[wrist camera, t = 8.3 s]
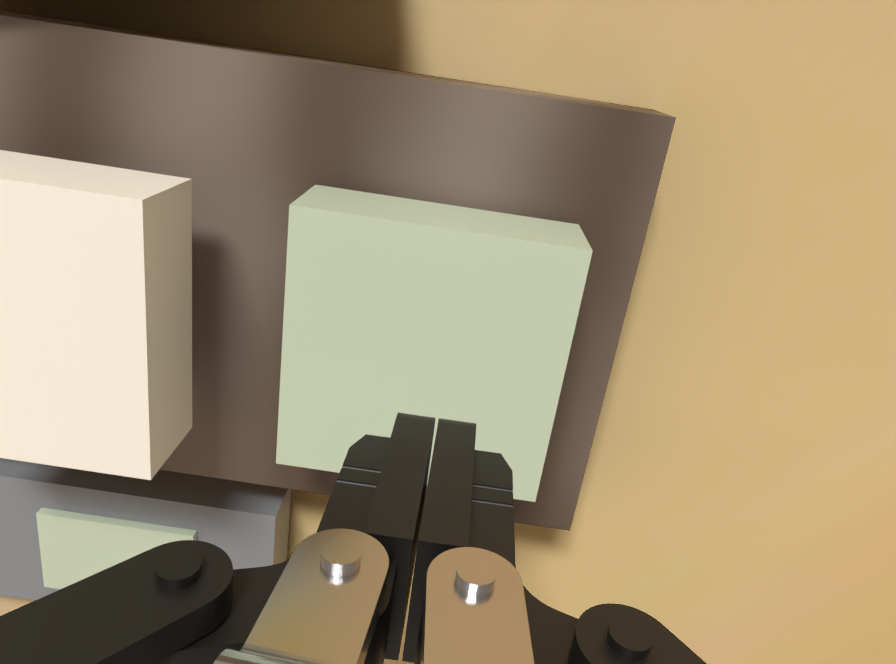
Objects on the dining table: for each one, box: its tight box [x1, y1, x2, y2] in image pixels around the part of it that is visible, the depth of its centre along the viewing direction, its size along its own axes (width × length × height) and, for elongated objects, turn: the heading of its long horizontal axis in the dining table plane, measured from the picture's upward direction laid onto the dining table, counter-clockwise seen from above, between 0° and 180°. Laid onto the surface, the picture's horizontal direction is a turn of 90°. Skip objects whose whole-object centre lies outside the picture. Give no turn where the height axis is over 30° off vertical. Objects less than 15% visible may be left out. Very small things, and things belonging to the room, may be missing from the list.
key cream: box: [0, 150, 192, 480], centre depth 16 cm, size 6×6×2 cm
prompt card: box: [0, 458, 291, 601], centre depth 23 cm, size 18×5×2 cm, turn 82°
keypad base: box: [0, 10, 676, 531], centre depth 19 cm, size 28×12×2 cm, turn 82°
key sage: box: [276, 185, 593, 502], centre depth 17 cm, size 6×6×2 cm
